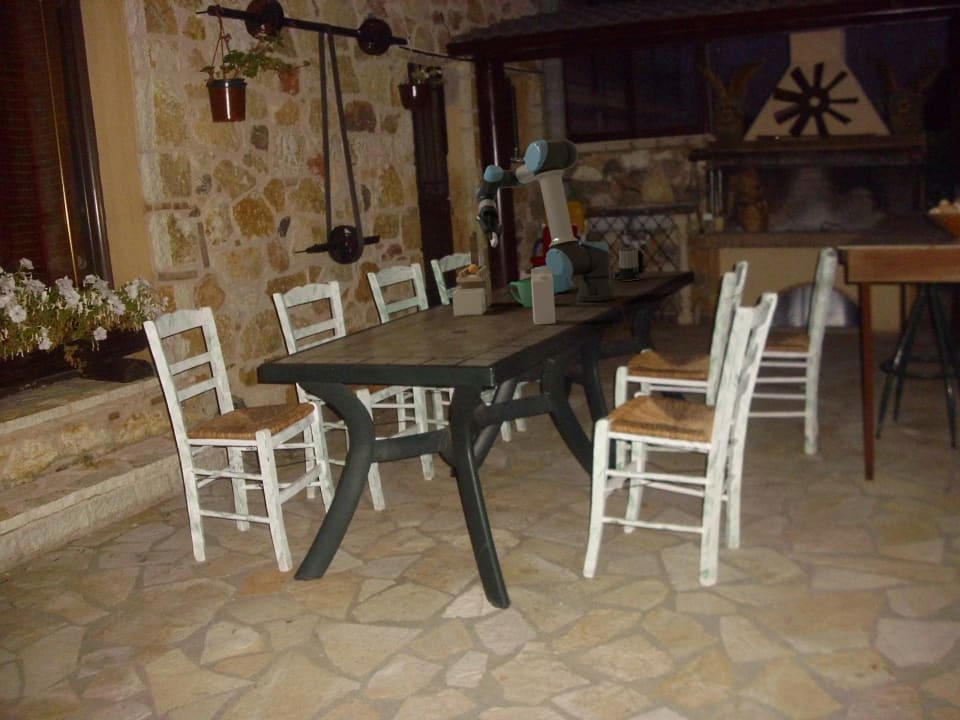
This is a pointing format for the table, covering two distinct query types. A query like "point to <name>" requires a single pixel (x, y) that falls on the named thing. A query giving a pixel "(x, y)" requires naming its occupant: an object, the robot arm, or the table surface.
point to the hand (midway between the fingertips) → (494, 244)
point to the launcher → (476, 282)
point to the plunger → (474, 249)
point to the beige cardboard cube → (469, 302)
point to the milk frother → (629, 263)
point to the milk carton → (543, 296)
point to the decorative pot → (559, 282)
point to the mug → (522, 292)
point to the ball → (473, 269)
